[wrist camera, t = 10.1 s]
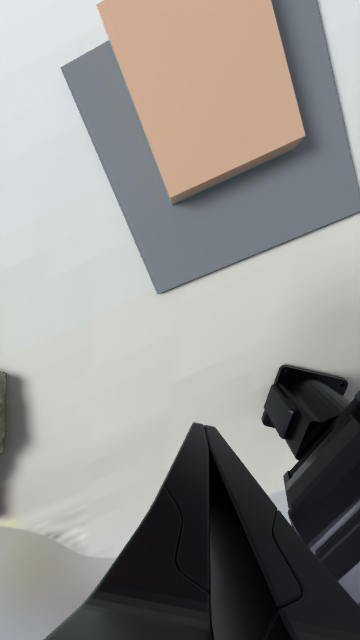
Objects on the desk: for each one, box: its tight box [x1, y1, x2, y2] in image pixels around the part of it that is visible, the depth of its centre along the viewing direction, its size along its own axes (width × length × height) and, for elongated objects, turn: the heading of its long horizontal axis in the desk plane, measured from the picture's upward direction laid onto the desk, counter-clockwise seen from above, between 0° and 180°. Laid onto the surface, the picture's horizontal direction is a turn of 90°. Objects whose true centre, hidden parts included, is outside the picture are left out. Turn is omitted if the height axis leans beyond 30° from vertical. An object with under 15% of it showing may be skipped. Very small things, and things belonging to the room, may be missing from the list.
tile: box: [97, 0, 305, 205], centre depth 16 cm, size 2×10×12 cm
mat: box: [61, 0, 360, 294], centre depth 17 cm, size 18×18×1 cm
